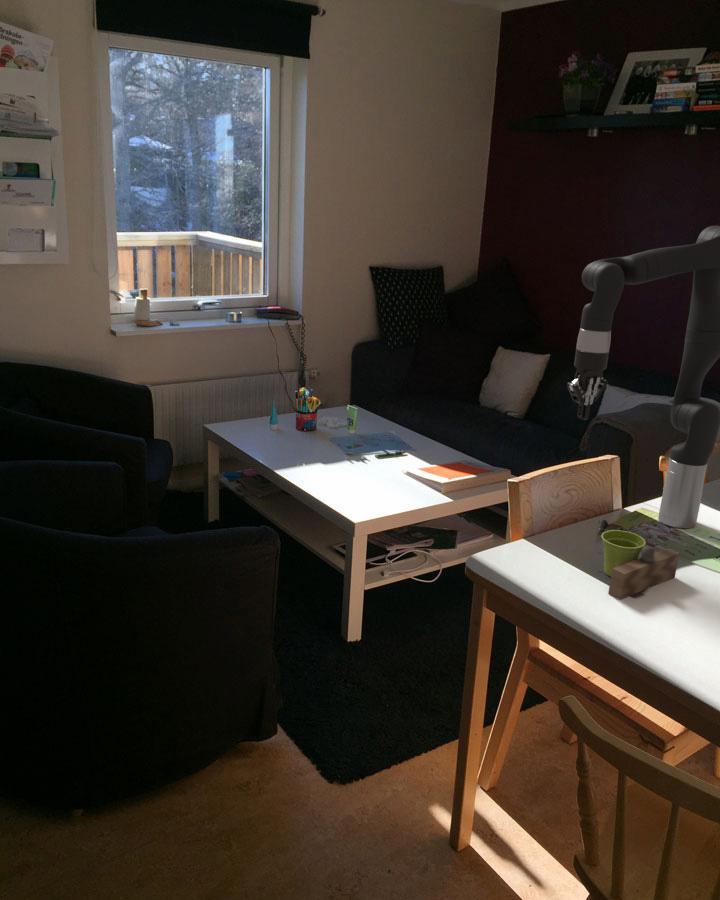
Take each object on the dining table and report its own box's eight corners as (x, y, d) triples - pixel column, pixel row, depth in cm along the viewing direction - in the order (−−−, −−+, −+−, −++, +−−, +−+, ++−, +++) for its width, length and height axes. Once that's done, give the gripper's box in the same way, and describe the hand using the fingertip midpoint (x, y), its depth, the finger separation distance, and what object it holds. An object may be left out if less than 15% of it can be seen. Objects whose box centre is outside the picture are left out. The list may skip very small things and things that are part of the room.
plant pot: (617, 586, 174) (624, 550, 172) (587, 568, 182) (592, 533, 179) (648, 579, 179) (655, 543, 176) (617, 561, 187) (623, 527, 184)
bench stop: (663, 572, 182) (669, 535, 180) (674, 577, 180) (681, 540, 177) (608, 593, 171) (614, 555, 168) (619, 599, 169) (626, 561, 166)
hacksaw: (598, 522, 210) (599, 517, 209) (639, 529, 207) (640, 524, 206) (591, 559, 188) (592, 553, 188) (637, 568, 185) (638, 562, 184)
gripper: (597, 343, 196) (587, 411, 201) (561, 347, 188) (552, 418, 194) (623, 349, 190) (612, 419, 196) (587, 353, 183) (577, 426, 188)
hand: (582, 418), depth 195 cm, fingers closed
